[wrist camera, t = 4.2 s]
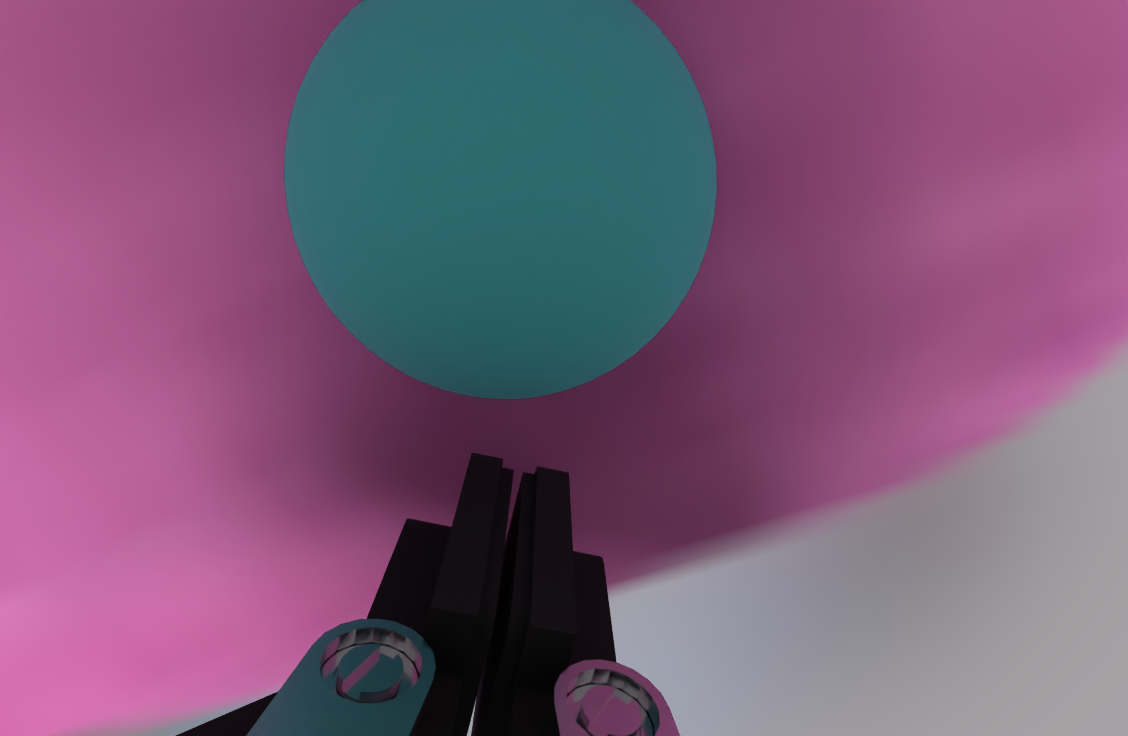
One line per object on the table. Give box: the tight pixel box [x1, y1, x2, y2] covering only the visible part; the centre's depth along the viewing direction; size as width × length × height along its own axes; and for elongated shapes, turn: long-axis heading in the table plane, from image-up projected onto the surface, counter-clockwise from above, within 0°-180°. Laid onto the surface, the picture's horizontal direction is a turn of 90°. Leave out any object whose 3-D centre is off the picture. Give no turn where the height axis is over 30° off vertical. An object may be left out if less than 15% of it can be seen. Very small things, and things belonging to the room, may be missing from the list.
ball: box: [284, 0, 717, 399], centre depth 8 cm, size 5×5×5 cm
